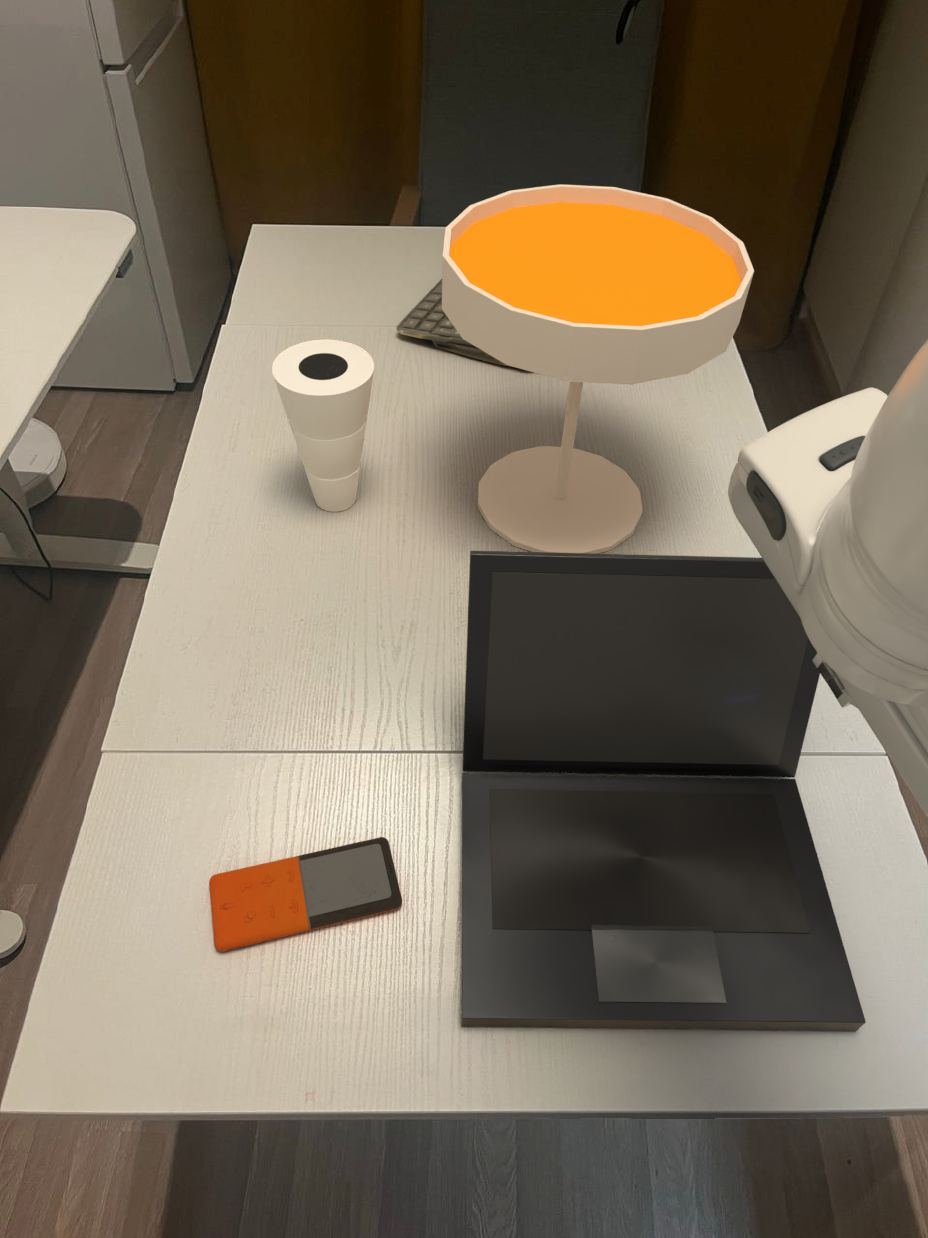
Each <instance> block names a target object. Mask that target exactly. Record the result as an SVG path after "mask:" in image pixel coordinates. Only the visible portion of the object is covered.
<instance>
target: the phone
mask: <svg viewBox="0 0 928 1238" xmlns="http://www.w3.org/2000/svg"><path fill="white" fill-rule="evenodd" d="M208 885H209V898H210V908H211V909H210V910H211V921H212V931H213V945H214V947H215V949H216V950H217V951H218V952H226V951H230V950H234V949H238V948H243V947H247V946H251V945H254V944H258V943H263V942H267V941H271V940H275V939H280V938H284V937H288V936H293V935H296V934H300V933H304V932H308V931H309V932H310V931H312V930H317V929H321V928H325V927H331V926H333V925H337V924H341V923H345V922H349V921H354V920H358V919H362V918H367V917H371V916H374V915H375V916H376V915H378V914H383V913H387V912H391V911H395V910H398V909H400V908H401V906H402V905H403V898H402V897H403V896H402V893H401V889H400V883H399V880H398V875H397V871H396V867H395V863H394V859H393V855H392V851H391V846H390V843H389V840H388V838H386V837H384V836H383V837H382V836H379V837H376V838H370V839H367V840H360V841H358V842H357V841H356V842H353V843H347V844H345V845H344V844H343V845H340V846H335V847H331V848H326V849H321V850H317V851H313V852H308V853H303V854H300V855H294V856H291V857H285V858H281V859H277V860H273V861H269V862H268V861H267V862H263V863H259V864H254V865H250V866H247V867H242V868H238V869H233V870H228V871H224V872H219V873H216V874H213V875H212V876H211V877H210V878H209V880H208Z"/></svg>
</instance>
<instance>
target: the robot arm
mask: <svg viewBox="0 0 928 1238" xmlns="http://www.w3.org/2000/svg"><path fill="white" fill-rule="evenodd" d="M727 496H728V500H729V503H730V506H731V509H732V512H733V514H734V516H735V518H736V520H737V521H738V523H739V524H740V526H741V527H742V529H743V530H744V531H745V533H746V535H747V537H748V538H749V539H750V541H751V543H752V544H753V545H754V547H755V550H756V551H757V552H758V554H759V555H760V558H763V560H764V561H765V563H766V565H767V566H768V568H769V569H770V571H771V572H772V574H773V576H774V577H775V579H776V580H777V582H778V583H779V585H780V587H781V588H782V590H783V591H784V593H785V594H786V596H787V598H788V599H789V601H790V602H791V604H792V605H793V607H794V609H795V610H796V612H797V613H798V615H799V616H800V618H801V621H802V624H803V627H804V629H805V632H806V634H807V636H808V638H809V640H810V642H811V644H812V645H813V647H814V648H815V650H816V651H817V654H816V656H815V657H814V658H813V660H812V661H813V662H814V664H815V665H816V667H817V669H818V671H819V672H820V676H821V677H822V678H823V680H824V681H825V683H826V684H827V686H828V687H829V689H830V690H831V692H832V694H833V695H834V698H835V699H836V701H837V702H838V704H839V705H840V707H841V708H846V707H848V706H851V705H852V706H853V707H854V708H857V709H858V711H859V712H860V714H861V715H862V716H863V718H864V720H865V721H866V723H867V725H868V726H869V728H870V730H871V731H872V732H873V734H874V736H875V738H876V739H877V740H878V742H879V744H880V745H881V747H882V748H883V750H884V751H885V753H886V755H887V756H888V758H889V759H890V761H891V762H892V764H893V765H894V767H895V769H896V770H897V772H898V773H899V775H900V776H901V778H902V780H903V781H904V783H905V784H906V786H907V788H908V789H909V790H910V792H911V794H912V796H913V797H914V799H915V800H916V802H917V803H918V804H919V806H920V808H921V810H922V811H923V813H924V814H925V816H926V818H928V338H927V339H926V340H925V341H924V343H923V344H922V345H921V346H920V348H919V349H918V350H917V352H915V354H914V356H913V357H912V358H911V360H910V361H909V363H908V364H907V365H906V367H905V368H904V370H903V372H901V375H900V376H899V378H898V379H897V380H896V383H895V384H894V385H893V387H892V389H891V390H890V392H889V394H886V393H885V392H883V391H882V390H880V389H879V388H876V387H866V388H864V389H861V390H858V391H855V392H852V393H849V394H847V395H844V396H841V397H838V398H835V399H833V400H830V401H828V402H826V403H823V404H821V405H819V406H816V407H814V408H811V409H810V410H807V411H806V412H803V413H801V414H799V415H797V416H795V417H793V418H791V419H789V420H787V421H785V422H783V423H782V424H780V425H778V426H777V427H775V428H773V429H771V430H769V431H767V432H766V433H764V434H763V435H761V436H759V437H758V438H756V439H754V440H753V441H751V442H749V444H747V445H746V446H744V447H742V448H741V449H740V451H739V453H738V457H737V463H736V464H735V465H734V468H733V470H732V472H731V475H730V479H729V483H728V488H727Z"/></svg>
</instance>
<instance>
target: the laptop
mask: <svg viewBox="0 0 928 1238" xmlns="http://www.w3.org/2000/svg"><path fill="white" fill-rule="evenodd" d="M396 332H398V333H399V334H400V335H403V336H408V337H412V338H416V339H423V340H429V341H432V345H433V346H434V347H436V348H439V349H441V350H445V351H449V352H452V353H455V354H458V355H462V356H465V357H468V358H472V359H476V360H481V361H483V362H487V363H491V364H496V365H501V366H503V367H504V366H505V367H510V368H511V367H512V366H509V365H506V364H504V363H502V362H501V361H499V360H497V359H496V358H494V357H492V356H491V355H489V354H487V353H486V352H484V351H482V350H481V349H479V348H477V347H476V346H474V345H472V344H471V343H469V342H467V341H466V340H464V339H462V337H461V336H460V334H459V333H458V331H457V330H456V328H455V327H454V326H453V324H452V323H451V321H450V320H449V318H448V317H447V315H446V314H445V313H444V311H443V310H442V278H441V279H440V280H439V281H438V282H437V283H436V284H435V285H434V286H433V287H432V288H431V290H429V291H428V292H427V294H426V295H424V296H423V297H422V299H421V300H419V302H418V303H417V304H416V305H415V306H414V307H413V308H411V310H410V311H409V312H408V313H407V314H406V315H405V316H404V318H402V319H401V321H400V322H399V323H397V325H396ZM512 368H513V367H512ZM514 368H515V369H517V368H516V367H514Z"/></svg>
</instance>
